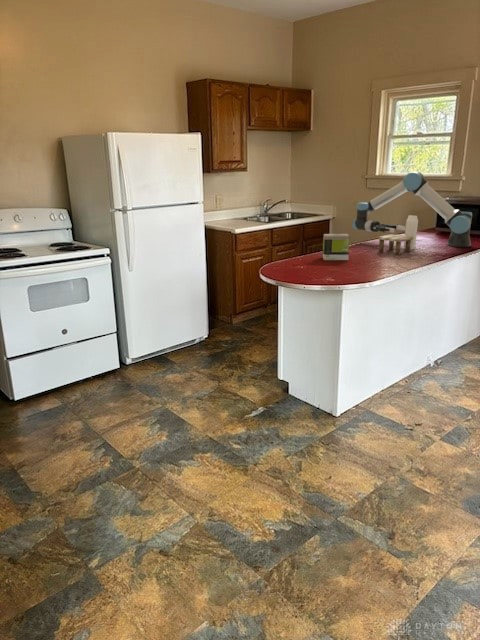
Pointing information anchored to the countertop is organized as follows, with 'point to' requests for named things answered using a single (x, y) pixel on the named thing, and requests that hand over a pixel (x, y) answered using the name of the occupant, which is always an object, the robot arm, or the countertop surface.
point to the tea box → (336, 246)
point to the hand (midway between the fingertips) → (399, 229)
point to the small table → (398, 240)
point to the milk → (411, 230)
